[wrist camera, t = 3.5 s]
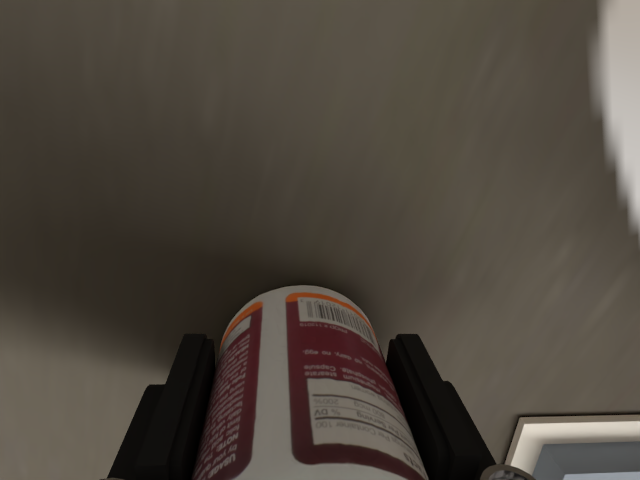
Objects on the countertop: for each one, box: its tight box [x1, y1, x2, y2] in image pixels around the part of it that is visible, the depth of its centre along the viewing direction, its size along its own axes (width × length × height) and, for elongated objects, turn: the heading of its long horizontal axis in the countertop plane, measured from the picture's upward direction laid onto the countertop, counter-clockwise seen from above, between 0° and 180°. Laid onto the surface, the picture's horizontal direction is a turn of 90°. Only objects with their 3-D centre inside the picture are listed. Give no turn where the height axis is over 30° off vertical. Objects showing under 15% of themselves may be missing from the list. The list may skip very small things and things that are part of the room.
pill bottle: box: [191, 285, 429, 480], centre depth 9 cm, size 5×5×8 cm
